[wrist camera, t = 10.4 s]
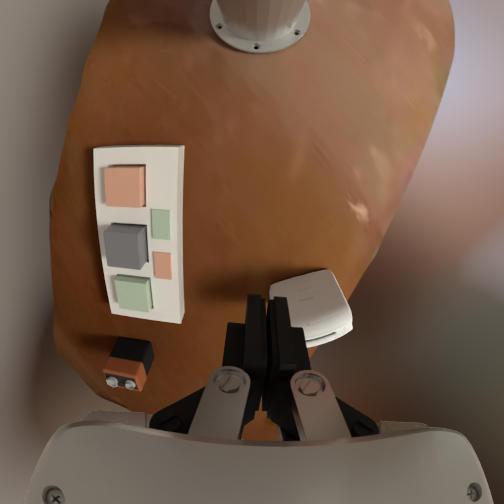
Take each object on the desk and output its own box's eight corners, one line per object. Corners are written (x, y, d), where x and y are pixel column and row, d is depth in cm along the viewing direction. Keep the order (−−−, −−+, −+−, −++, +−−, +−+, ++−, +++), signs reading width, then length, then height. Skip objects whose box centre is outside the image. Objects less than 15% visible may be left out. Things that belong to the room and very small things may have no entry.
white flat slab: (104, 146, 34) (92, 148, 31) (184, 145, 35) (177, 147, 32) (118, 303, 45) (111, 314, 42) (184, 312, 46) (180, 324, 43)
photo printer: (332, 264, 42) (356, 314, 30) (337, 287, 43) (359, 341, 32) (265, 281, 43) (268, 337, 32) (273, 304, 45) (277, 361, 33)
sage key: (122, 269, 41) (114, 280, 38) (152, 273, 41) (145, 284, 38) (126, 296, 43) (119, 308, 40) (155, 300, 43) (149, 312, 40)
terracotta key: (115, 164, 34) (104, 168, 31) (148, 164, 35) (139, 168, 32) (116, 199, 36) (106, 206, 34) (148, 201, 37) (140, 207, 34)
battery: (118, 335, 49) (98, 373, 40) (151, 340, 49) (135, 380, 40) (123, 352, 50) (106, 389, 41) (155, 357, 51) (140, 396, 41)
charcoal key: (113, 223, 36) (103, 231, 34) (145, 225, 37) (137, 234, 34) (116, 256, 39) (107, 266, 36) (147, 259, 39) (140, 270, 36)
